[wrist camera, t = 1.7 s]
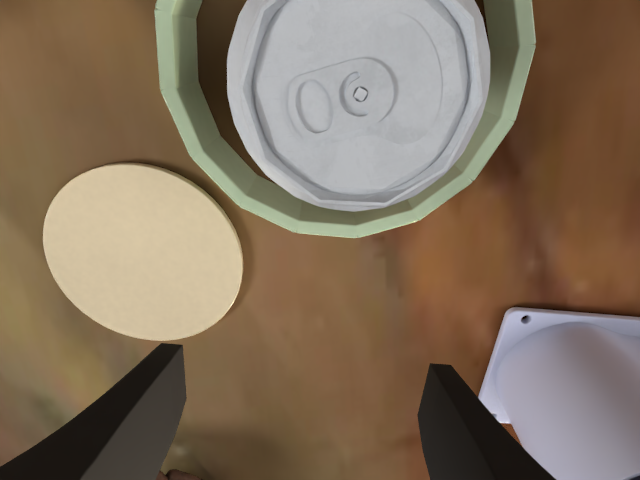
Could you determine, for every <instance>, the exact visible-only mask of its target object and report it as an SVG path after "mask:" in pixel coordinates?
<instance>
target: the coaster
mask: <svg viewBox="0 0 640 480" xmlns="http://www.w3.org/2000/svg"><path fill="white" fill-rule="evenodd" d="M43 245H44V252H45V256H46V260H47V263H48V266H49V268H50V271H51V273H52V275H53V277H54V279H55V280H56V282H57V284H58V286H59V287H60V288H61V290H62V291H63V292H64V294H65V295H66V296H67V297H68V298H69V299H70V301H71V302H72V303H73V304H74V305H75V306H76V307H77V308H79V309H80V310H81V311H82V312H83V313H84V314H86V315H87V316H89V317H90V318H91V319H93V320H94V321H96V322H98V323H99V324H101V325H103V326H105V327H107V328H109V329H111V330H113V331H116V332H118V333H121V334H124V335H127V336H131V337H135V338H139V339H146V340H162V341H164V340H175V339H181V338H186V337H189V336H192V335H195V334H197V333H200V332H202V331H204V330H206V329H207V328H209V327H211V326H212V325H214V324H215V323H216V322H217V321H219V320H220V319H221V318H222V317H223V316H224V315H225V314H226V312H227V311H228V310H229V309H230V307H231V306H232V304H233V302H234V301H235V299H236V296H237V294H238V291H239V289H240V286H241V281H242V277H243V254H242V249H241V244H240V241H239V238H238V235H237V233H236V230H235V229H234V227H233V225H232V223H231V221H230V219H229V218H228V216H227V215H226V213H225V212H224V210H223V209H222V208H221V207H220V206H219V205H218V203H217V202H216V201H215V200H214V199H213V198H212V197H211V196H210V195H209V194H207V193H206V192H205V191H204V190H203V189H202V188H200V187H199V186H197V185H196V184H194V183H193V182H192V181H190V180H188V179H186V178H184V177H183V176H181V175H179V174H177V173H174V172H172V171H169V170H167V169H164V168H160V167H157V166H153V165H148V164H142V163H124V162H122V163H113V164H107V165H103V166H99V167H96V168H93V169H91V170H89V171H86V172H84V173H82V174H80V175H79V176H77V177H76V178H74V179H72V180H71V181H70V182H68V183H67V184H66V185H65V186H64V187H63V188H62V189H61V190H60V191H59V192H58V194H57V195H56V196H55V197H54V199H53V201H52V203H51V205H50V206H49V209H48V212H47V214H46V217H45V222H44V228H43Z"/></svg>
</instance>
